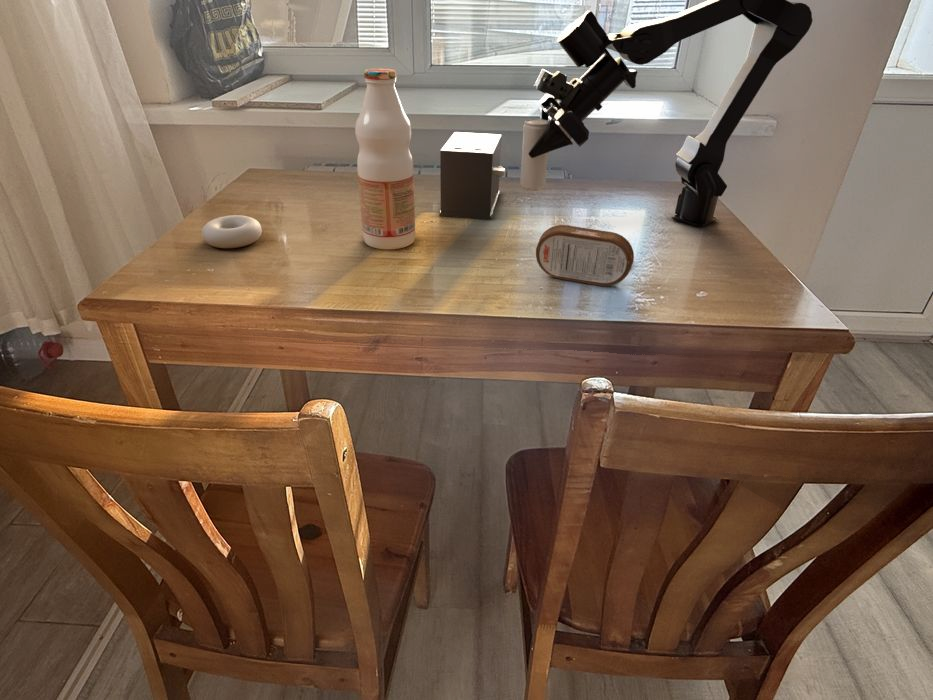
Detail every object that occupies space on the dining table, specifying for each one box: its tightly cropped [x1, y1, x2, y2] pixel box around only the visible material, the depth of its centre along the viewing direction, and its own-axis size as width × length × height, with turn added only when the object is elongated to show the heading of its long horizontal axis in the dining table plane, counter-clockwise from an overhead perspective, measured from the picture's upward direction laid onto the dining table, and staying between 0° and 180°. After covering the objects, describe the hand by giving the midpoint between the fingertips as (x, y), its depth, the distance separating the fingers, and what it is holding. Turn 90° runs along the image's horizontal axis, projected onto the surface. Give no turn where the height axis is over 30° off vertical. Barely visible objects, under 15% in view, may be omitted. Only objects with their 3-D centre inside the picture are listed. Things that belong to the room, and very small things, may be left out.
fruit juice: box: [354, 67, 416, 250], centre depth 97 cm, size 9×9×28 cm
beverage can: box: [519, 118, 549, 192], centre depth 108 cm, size 5×5×12 cm
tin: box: [535, 224, 635, 287], centre depth 90 cm, size 15×3×8 cm, turn 71°
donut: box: [201, 214, 263, 249], centre depth 103 cm, size 10×4×10 cm
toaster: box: [438, 131, 506, 221], centre depth 119 cm, size 12×16×13 cm
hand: (527, 152), depth 107 cm, fingers closed on beverage can, 5 cm apart
